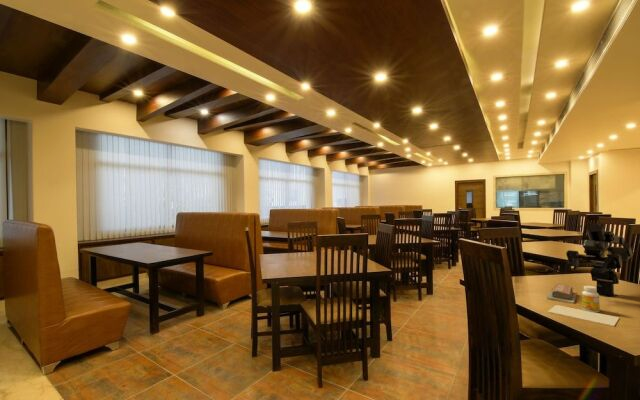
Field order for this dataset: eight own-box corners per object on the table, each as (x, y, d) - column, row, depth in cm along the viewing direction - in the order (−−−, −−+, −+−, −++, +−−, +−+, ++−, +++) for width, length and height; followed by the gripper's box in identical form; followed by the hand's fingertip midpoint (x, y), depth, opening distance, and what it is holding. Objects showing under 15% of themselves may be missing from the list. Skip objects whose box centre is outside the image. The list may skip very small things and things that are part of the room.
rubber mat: (556, 305, 133) (556, 304, 133) (619, 318, 118) (619, 317, 118) (547, 312, 126) (547, 311, 126) (613, 326, 110) (613, 325, 110)
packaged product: (551, 282, 155) (576, 285, 148) (551, 291, 155) (577, 295, 148) (546, 289, 142) (573, 293, 135) (546, 300, 142) (574, 304, 135)
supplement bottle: (579, 308, 129) (578, 285, 130) (590, 307, 130) (589, 284, 130) (591, 312, 124) (590, 289, 124) (603, 312, 124) (602, 288, 125)
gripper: (568, 233, 149) (557, 253, 142) (620, 236, 133) (610, 259, 126) (574, 251, 151) (563, 272, 145) (626, 256, 136) (616, 280, 129)
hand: (587, 270), depth 136 cm, fingers open, 9 cm apart
